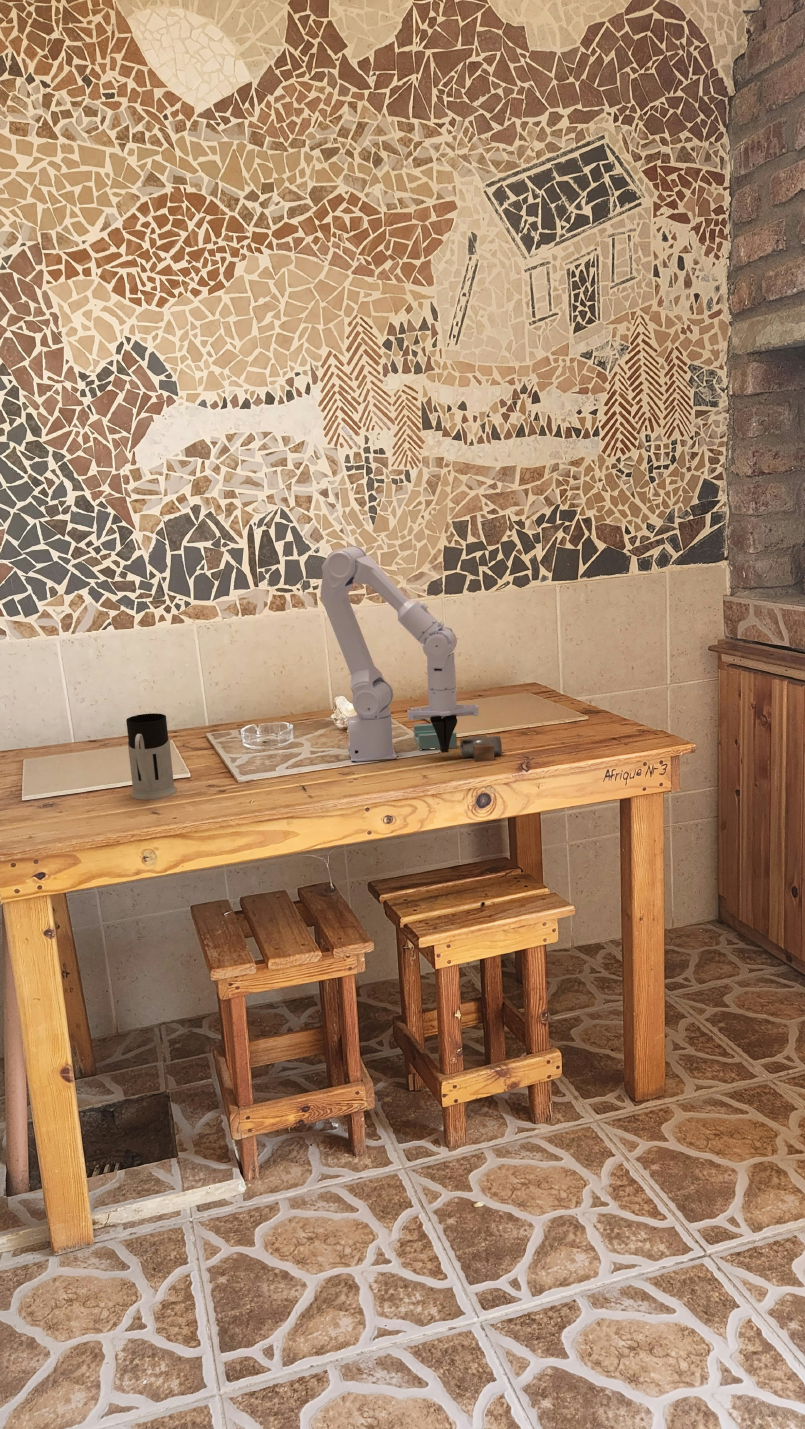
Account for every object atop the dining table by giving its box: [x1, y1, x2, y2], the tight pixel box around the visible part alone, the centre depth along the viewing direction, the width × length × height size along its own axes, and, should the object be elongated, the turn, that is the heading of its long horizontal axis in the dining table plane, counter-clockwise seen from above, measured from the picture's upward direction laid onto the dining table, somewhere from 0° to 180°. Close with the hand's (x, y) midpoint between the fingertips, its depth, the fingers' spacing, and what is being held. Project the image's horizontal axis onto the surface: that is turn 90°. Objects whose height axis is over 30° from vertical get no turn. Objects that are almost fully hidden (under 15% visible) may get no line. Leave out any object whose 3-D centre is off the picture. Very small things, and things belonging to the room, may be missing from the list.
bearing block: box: [467, 734, 495, 762], centre depth 226 cm, size 4×9×3 cm, turn 6°
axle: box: [459, 735, 503, 759], centre depth 225 cm, size 8×4×4 cm, turn 96°
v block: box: [413, 723, 458, 750], centre depth 236 cm, size 8×10×3 cm
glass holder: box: [125, 712, 178, 801], centre depth 207 cm, size 9×14×15 cm, turn 1°
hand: (444, 751), depth 225 cm, fingers closed
